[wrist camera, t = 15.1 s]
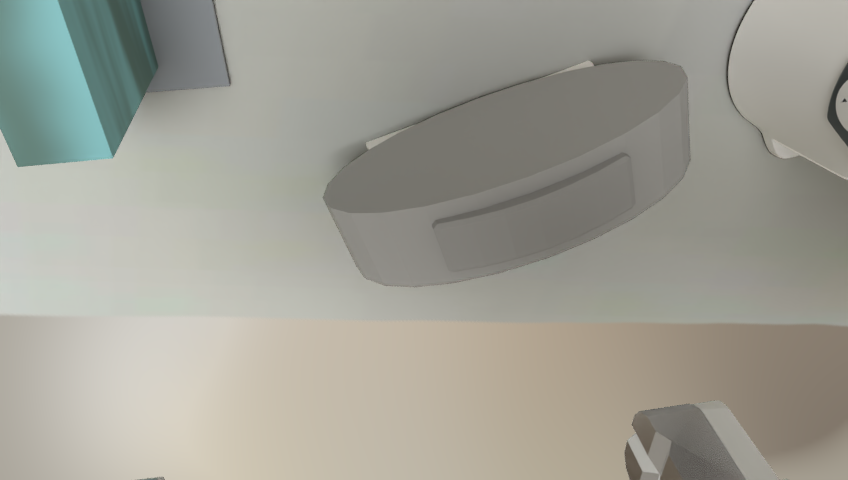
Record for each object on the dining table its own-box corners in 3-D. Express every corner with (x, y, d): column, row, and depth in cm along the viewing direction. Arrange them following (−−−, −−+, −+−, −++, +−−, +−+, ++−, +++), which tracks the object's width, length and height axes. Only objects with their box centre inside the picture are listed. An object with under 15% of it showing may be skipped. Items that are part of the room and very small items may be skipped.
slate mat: (189, -115, 32) (188, -115, 32) (230, 83, 39) (229, 85, 39) (-57, -107, 31) (-61, -107, 31) (28, 99, 37) (26, 101, 37)
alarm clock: (350, 218, 46) (368, 334, 36) (318, 150, 43) (328, 258, 33) (639, 112, 46) (741, 201, 35) (632, 34, 42) (743, 108, 32)
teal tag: (117, -80, 32) (46, -32, 23) (158, 66, 37) (112, 158, 28) (37, -77, 32) (-71, -26, 22) (89, 72, 37) (17, 166, 27)
